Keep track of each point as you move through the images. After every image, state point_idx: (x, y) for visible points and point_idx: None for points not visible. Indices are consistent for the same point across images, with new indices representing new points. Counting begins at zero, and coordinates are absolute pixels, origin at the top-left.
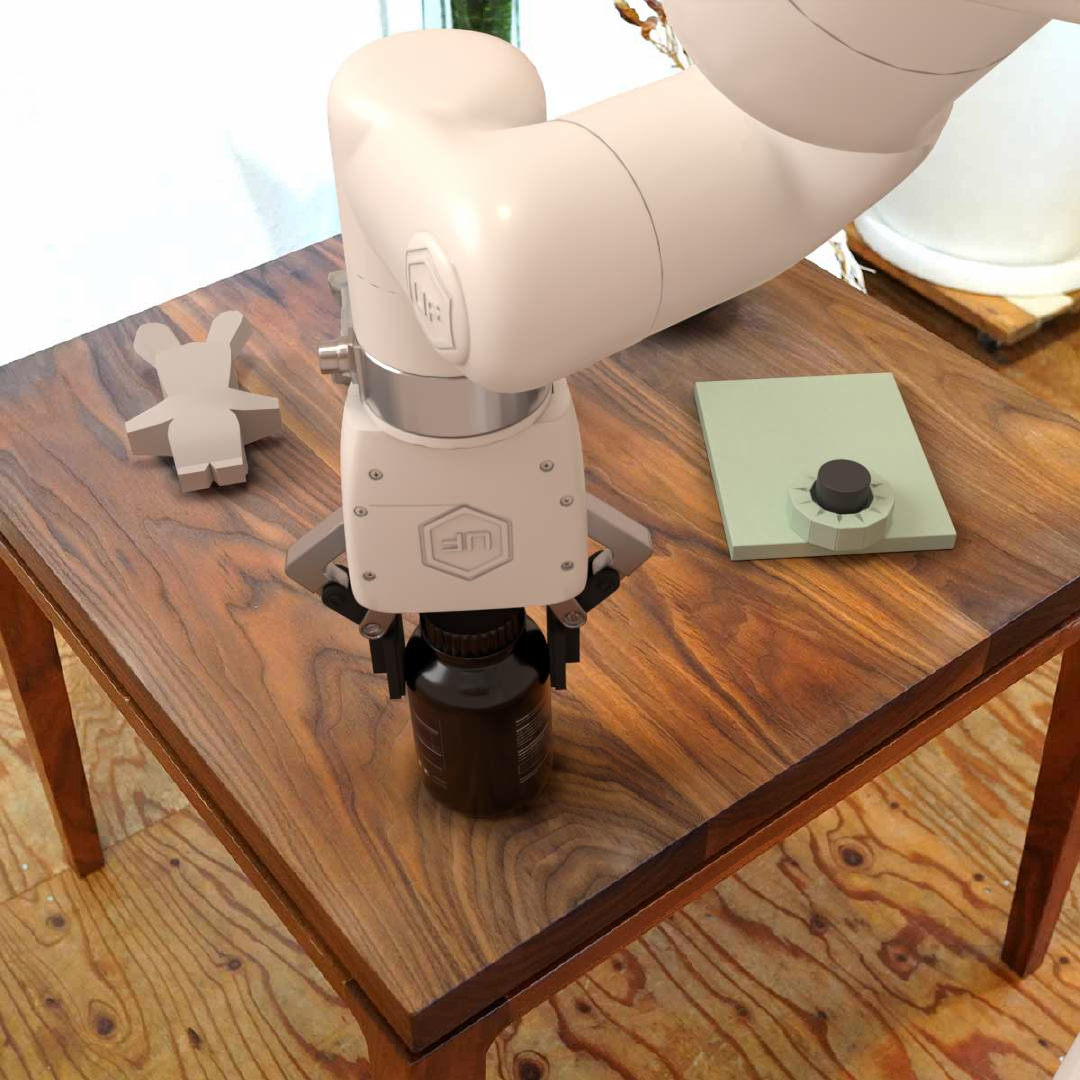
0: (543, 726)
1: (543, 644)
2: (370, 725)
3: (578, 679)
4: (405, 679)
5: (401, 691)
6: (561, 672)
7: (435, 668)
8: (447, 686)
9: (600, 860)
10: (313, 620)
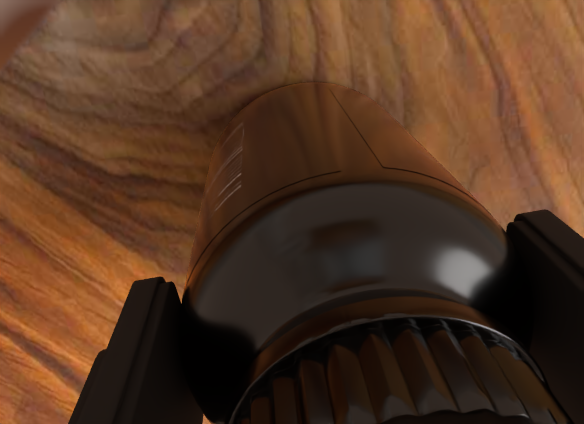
0: (200, 212)
1: (191, 386)
2: None
3: None
4: None
5: (527, 227)
6: (130, 316)
7: (474, 283)
8: (435, 231)
9: (103, 23)
10: None
